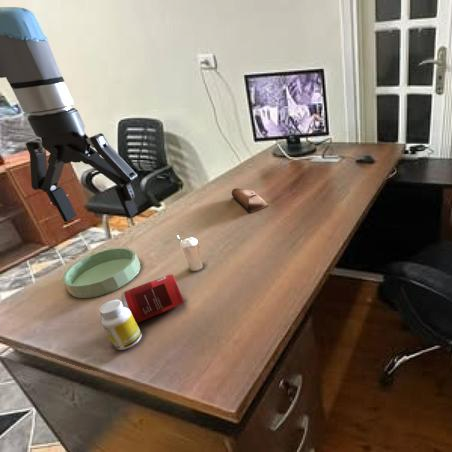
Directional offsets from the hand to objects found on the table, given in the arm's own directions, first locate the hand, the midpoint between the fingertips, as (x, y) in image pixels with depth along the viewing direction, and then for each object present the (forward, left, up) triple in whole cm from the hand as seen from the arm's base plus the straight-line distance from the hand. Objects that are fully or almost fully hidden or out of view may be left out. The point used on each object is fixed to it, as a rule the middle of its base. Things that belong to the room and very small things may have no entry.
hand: (101, 216), depth 72 cm
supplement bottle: (+1, -11, -25) cm, 27 cm away
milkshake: (+9, +15, -25) cm, 30 cm away
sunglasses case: (+19, +55, -25) cm, 63 cm away
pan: (-16, +16, -25) cm, 34 cm away
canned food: (+9, +1, -21) cm, 23 cm away
